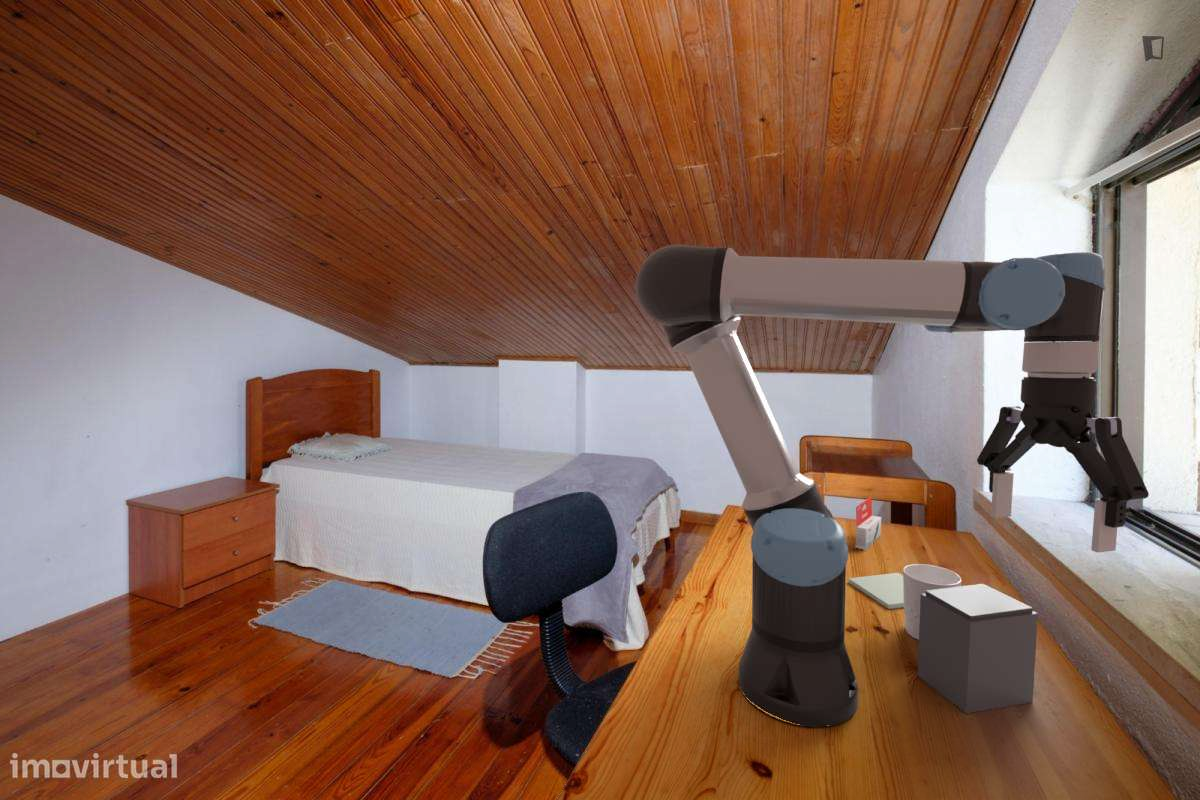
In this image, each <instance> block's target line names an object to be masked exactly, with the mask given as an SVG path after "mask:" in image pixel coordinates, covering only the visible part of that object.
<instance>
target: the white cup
mask: <svg viewBox="0 0 1200 800" xmlns="http://www.w3.org/2000/svg"><path fill="white" fill-rule="evenodd" d="M902 575H903V600H904V607H903V614H904V629H905V631H906V633H907V634H908V635H909V636H910V637H912V638H913V639H916V640H917V641H919V625H920V599H921V594H923V593H926V591H927V590H935V589H943V588H951V587H959V586H962V577H961V576H960V575H959V574H958V573H957V572H955V571H953V570H950V569H948V568H945V567H941V566H938V565H932V564H925V563H924V564H923V563H916V564H915V563H914V564H913V563H912V564H908V565H906V566H904V567H903V568H902Z"/></svg>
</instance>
